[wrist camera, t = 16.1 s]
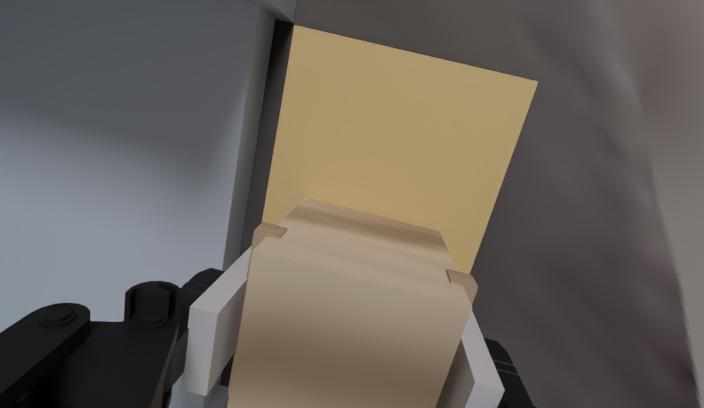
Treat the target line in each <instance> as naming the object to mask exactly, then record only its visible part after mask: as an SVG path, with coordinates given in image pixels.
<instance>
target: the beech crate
mask: <svg viewBox="0 0 704 408" xmlns="http://www.w3.org/2000/svg"><path fill="white" fill-rule="evenodd" d="M246 278H248V279H247V285H246V291H245V297H244V303H243V309H242V315H241V322H240V328H239V334H238V340H237V346H236V351H235V352H234V357H233V364H232V370H231V376H230V382H229V388H228V394H227V395H229V399H228V405H227V408H435V407H436V404H437V402H438V399H439V396H440V394H441V391H442V388H443V385H444V383H445V380H446V377H447V375H448V372H449V369H450V366H451V364H452V361H453V358H454V356H455V353H456V350H457V347H458V345H459V342H460V339H461V337H462V334H463V331H464V328H465V326H466V323H467V320H468V318H469V315H470V312H471V309H472V303H473V300H474V298H475V295H476V292H477V289H478V286H477V284H476V282H475V280H474V278H473V276H472V275H470V274H466V273H462V272H458V271H457V270H456V268H455V266H454V263H453V261H452V259H451V256H450V254H449V252H448V249H447V247H446V245H445V242H444V240H443V238H442V235H441V233H440V232H439V231H435V230H431V229H427V228H423V227H419V226H415V225H411V224H407V223H403V222H399V221H395V220H391V219H387V218H383V217H379V216H375V215H371V214H367V213H363V212H359V211H355V210H351V209H347V208H343V207H339V206H335V205H331V204H327V203H323V202H319V201H315V200H311V199H307V198H304V199H303V200H302V201H301V202H300V203H299V204H298V205H297V206H296V207H295V208H294V209H293V210H292V211H291V212H290V213H289V214H288V215H287V216H286V217H285V218H284V219H283V220H282V221H281V222H280V223H279V224H278V225H273V224H269V223H265V222H263V223H262V224H261V225H259V226H258V227H257V228H256V229H255V230H254V234H253V240H252V246H251V253H250V259H249V265H248V271H247V277H246Z"/></svg>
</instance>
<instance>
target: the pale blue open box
mask: <svg viewBox="0 0 704 408" xmlns="http://www.w3.org/2000/svg"><path fill="white" fill-rule="evenodd" d="M296 5H297V0H0V333H1V332H2V331H4V330H5V329H7V328H8V327H10V326H11V325H13V324H14V323H16V322H17V321H19V320H20V319H22V318H23V317H25V316H26V315H28V314H29V313H31V312H33V311H35V310H37V309H39V308H41V307H45V306H48V305H52V304H57V303H78V304H81V305H84V306H86V307H87V308H88V309H89V310H90V321H108V322H122V321H123V320H124V306H125V292H126V291H127V290H128V289H129V288H131V287H132V286H135V285H137V284H139V283H143V282H148V281H165V282H171V283H173V284H175V285H177V286H179V288H182V286H183V285H184V284H185V283H186V282H187V281H188V282H189V280H190V279H191V278H192V277H193V276H194V275H196V274H197V273H198V272H201V271H203V270H206V269H209V268H214V269H218V270H222V271H226V270H227V269H228V268H229V267H230V266H231V265H232V264H233V263H234V262H235V261H236V260H237V259H238V258H239V256H240V249H241V243H242V236H243V230H244V223H245V216H246V210H247V203H248V197H249V190H250V183H251V177H252V170H253V164H254V157H255V151H256V144H257V137H258V131H259V124H260V118H261V111H262V104H263V98H264V91H265V85H266V78H267V71H268V65H269V58H270V52H271V45H272V38H273V32H274V25H275V19H278V20H282V21H287V22H291V23H294V18H295V11H296ZM221 375H222V373H221V374H220V376H219V377H218V379H217V380H216V382H215V384H214V385H213V387H212V388H211V390H210V391H209V393H208V395H207V396H203V395H200V394H196V393H192V392H189V391H185V390H181V382H182V375H181V376H180V377H179V379H178V380H177V381H176V383H175V384H174V385H173V387H172V396H171V401H170V405H169V408H227V405H228V399H229V395H227V394H228V388H229V387H226V386H223V385H220V381H221Z"/></svg>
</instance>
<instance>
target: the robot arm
mask: <svg viewBox="0 0 704 408" xmlns="http://www.w3.org/2000/svg"><path fill="white" fill-rule="evenodd" d="M250 253H251V247H250V248H249V249H248V250H247V251H246V252H245V253H243V254H242V255H241V256H240V257H239V258H238V259H237V260H236V261H235V262H234V263H233V264H232V265H231V266H230V267H229V268H228V269H227V270H226V271H222V270H218V269H214V268H209V269H206V270H203V271H201V272H198V273H197V274H196V275H194V276H193V277H192V278H191V279H190V280H189V282H188V281H187V282H186V283H185V284H184V285H183V286H182V288H179V286H177V285H175V284H173V283H171V282H165V281H148V282H143V283H139V284H137V285H135V286H132V287H131V288H129V289H128V290H127V291H126V292H125V306H124V320H123V321H122V322H108V321H90V310H89V309H88V308H87V307H86V306H84V305H81V304H78V303H57V304H52V305H48V306H45V307H41V308H39V309H37V310H35V311H33V312H31V313H29V314H28V315H26V316H25V317H23V318H22V319H20V320H19V321H17V322H16V323H14V324H13V325H11V326H10V327H8V328H7V329H5V330H4V331H2V332H1V333H0V408H169V405H170V401H171V396H172V387H173V385H174V384H175V383H176V381H177V380H178V379H179V377H180V376H181V375H182V382H181V390H185V391H189V392H192V393H196V394H200V395H203V396H207V395H208V393H209V391H210V390H211V388H212V387H213V385H214V384H215V382H216V380H217V379H218V377H219V376H220V374H221V373H222V371H223V369H224V368H225V366H226V365H227V363H228V362H229V360H230V358H231V357H232V355H233V354H234V352H235V351H236V346H237V340H238V334H239V328H240V322H241V315H242V309H243V303H244V297H245V291H246V285H247V279H248V278H246V277H247V271H248V265H249V259H250ZM435 408H536V407H535V406H533V404H532V402H531V400H530V397H529V395H528V393H527V391H526V389H525V387H524V385H523V383H522V381H521V379H520V377H519V376H518V373H517V371H516V369H515V367H514V366H513V363H512V361H511V359H510V356H509V354H508V353H507V351H506V350H505V349H504V348H503V347H502V346H501V345H500V344H499V343H498V342H497V341H494V340H490V339H486V338H483V336H482V334H481V331H480V329H479V326H478V324H477V322H476V319H475V317H474V314H473V312H472V309H471V312H470V315H469V318H468V320H467V323H466V326H465V328H464V331H463V334H462V337H461V339H460V342H459V345H458V347H457V350H456V353H455V356H454V358H453V361H452V364H451V366H450V369H449V372H448V375H447V377H446V380H445V383H444V385H443V388H442V391H441V394H440V396H439V399H438V402H437V404H436V407H435Z"/></svg>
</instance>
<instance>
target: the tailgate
mask: <svg viewBox="0 0 704 408" xmlns="http://www.w3.org/2000/svg"><path fill="white" fill-rule="evenodd" d="M537 84H538V81H533V80H529V79H525V78H520V77H516V76H512V75H507V74H503V73H499V72H495V71H490V70H486V69H482V68H477V67H473V66H469V65H464V64H460V63H456V62H451V61H447V60H443V59H439V58H434V57H430V56H426V55H421V54H417V53H413V52H408V51H404V50H400V49H396V48H391V47H387V46H383V45H378V44H374V43H370V42H365V41H361V40H357V39H352V38H348V37H344V36H340V35H335V34H331V33H327V32H322V31H318V30H314V29H309V28H305V27H301V26H297V25H294V31H293V37H292V43H291V49H290V55H289V61H288V67H287V73H286V79H285V85H284V91H283V97H282V103H281V110H280V116H279V122H278V128H277V134H276V140H275V146H274V152H273V158H272V164H271V170H270V176H269V182H268V188H267V194H266V200H265V206H264V212H263V218H262V223H263V222H265V223H269V224H273V225H278V224H279V223H280V222H281V221H282V220H283V219H284V218H285V217H286V216H287V215H288V214H289V213H290V212H291V211H292V210H293V209H294V208H295V207H296V206H297V205H298V204H299V203H300V202H301V201H302V200H303V199H304V198H307V199H311V200H315V201H319V202H323V203H327V204H331V205H335V206H339V207H343V208H347V209H351V210H355V211H359V212H363V213H367V214H371V215H375V216H379V217H383V218H387V219H391V220H395V221H399V222H403V223H407V224H411V225H415V226H419V227H423V228H427V229H431V230H435V231H439V232H440V233H441V235H442V238H443V240H444V242H445V245H446V247H447V249H448V252H449V254H450V256H451V259H452V261H453V263H454V266H455V268H456V270H457V271H458V272H462V273H466V274H470V271H471V268H472V266H473V263H474V260H475V257H476V254H477V252H478V249H479V246H480V243H481V240H482V238H483V235H484V232H485V229H486V226H487V224H488V221H489V218H490V215H491V212H492V210H493V207H494V204H495V201H496V198H497V196H498V193H499V190H500V187H501V185H502V182H503V179H504V176H505V173H506V171H507V168H508V165H509V162H510V159H511V157H512V154H513V151H514V148H515V145H516V143H517V140H518V137H519V134H520V131H521V129H522V126H523V123H524V120H525V117H526V115H527V112H528V109H529V106H530V104H531V101H532V98H533V95H534V92H535V90H536V87H537Z"/></svg>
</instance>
